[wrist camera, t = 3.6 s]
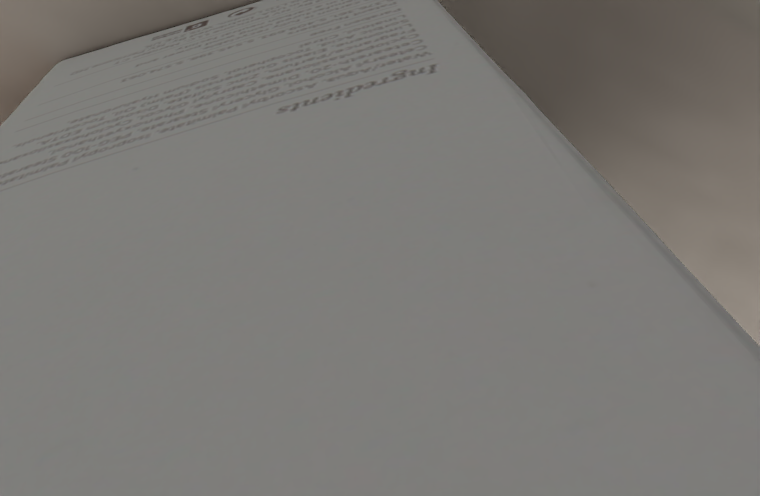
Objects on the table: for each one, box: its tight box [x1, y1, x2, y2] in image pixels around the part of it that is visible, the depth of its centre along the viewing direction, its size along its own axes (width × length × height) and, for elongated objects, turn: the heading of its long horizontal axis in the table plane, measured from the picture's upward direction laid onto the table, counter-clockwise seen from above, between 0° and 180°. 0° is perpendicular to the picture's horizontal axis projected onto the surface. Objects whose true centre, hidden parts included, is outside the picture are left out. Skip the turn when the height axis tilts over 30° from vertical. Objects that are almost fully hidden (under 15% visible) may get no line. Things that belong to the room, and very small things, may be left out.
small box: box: [0, 0, 760, 496], centre depth 9 cm, size 8×6×13 cm
